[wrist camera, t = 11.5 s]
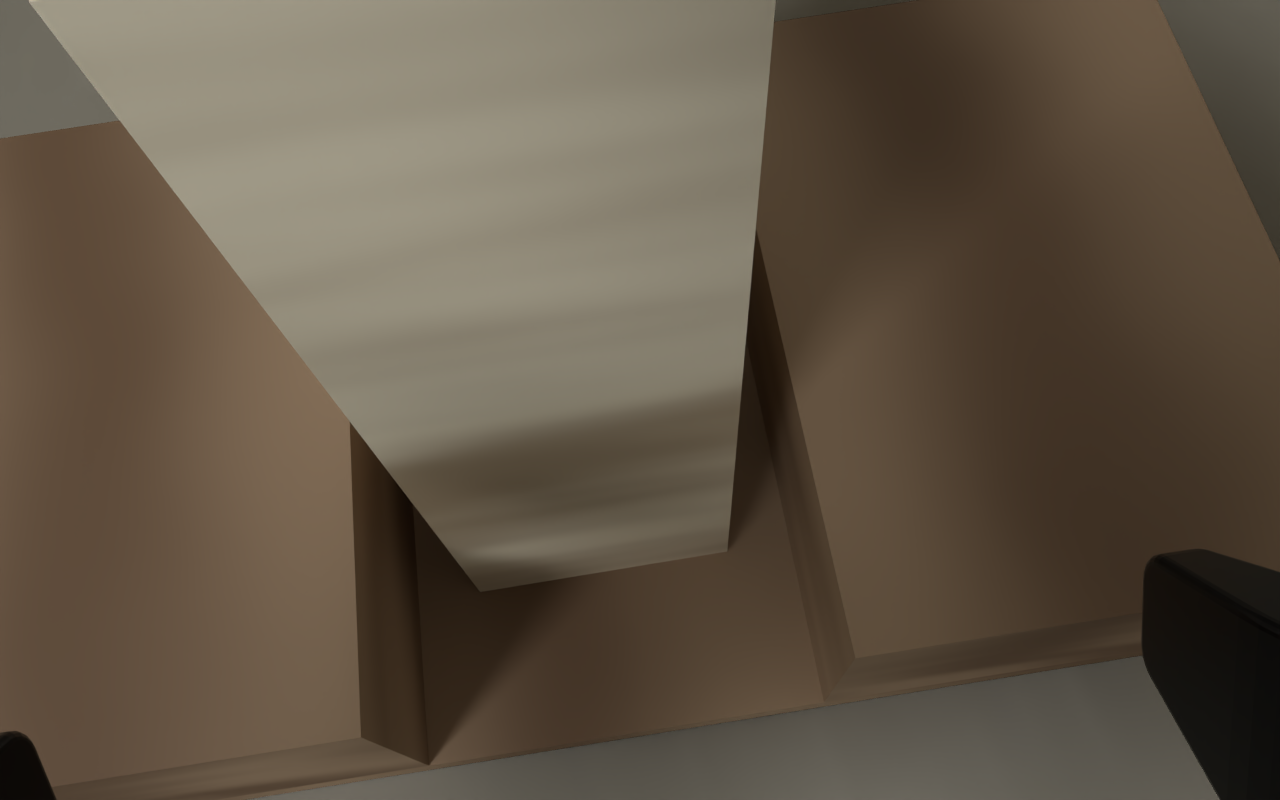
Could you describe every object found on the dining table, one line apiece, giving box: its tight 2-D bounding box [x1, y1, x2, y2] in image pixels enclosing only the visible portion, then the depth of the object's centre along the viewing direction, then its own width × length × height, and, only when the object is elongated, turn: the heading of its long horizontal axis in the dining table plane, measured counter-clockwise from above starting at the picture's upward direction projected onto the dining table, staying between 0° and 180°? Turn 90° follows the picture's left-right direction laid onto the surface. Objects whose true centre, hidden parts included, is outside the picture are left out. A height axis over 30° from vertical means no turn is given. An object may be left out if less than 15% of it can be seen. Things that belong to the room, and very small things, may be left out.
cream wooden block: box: [29, 0, 776, 592], centre depth 12 cm, size 5×4×12 cm
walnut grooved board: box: [0, 0, 1280, 800], centre depth 17 cm, size 20×10×4 cm, turn 98°
